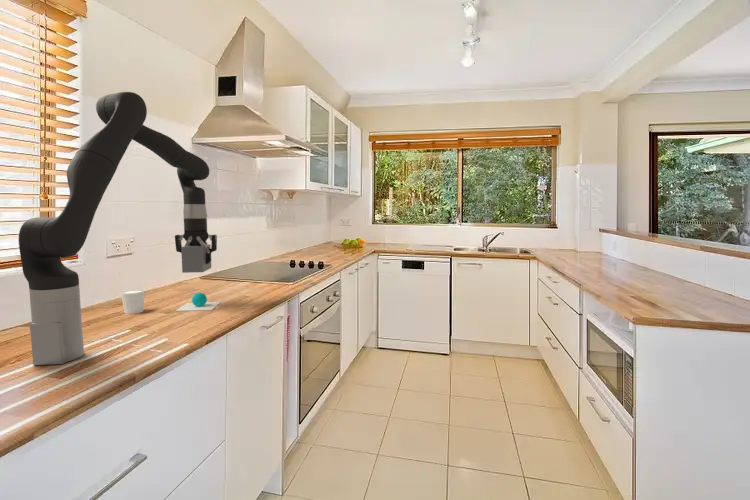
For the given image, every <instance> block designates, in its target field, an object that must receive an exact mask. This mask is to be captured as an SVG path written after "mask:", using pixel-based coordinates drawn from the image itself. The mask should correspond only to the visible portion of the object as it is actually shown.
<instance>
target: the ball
mask: <svg viewBox="0 0 750 500" xmlns="http://www.w3.org/2000/svg"><path fill="white" fill-rule="evenodd" d="M191 301H192V302H191V303H193V304H194V305H195V306H203V305H204V304H205V303H206V302H208V297H207V295H206V294H205V293H204V292H197V293H194V294H193V295H192V297H191Z"/></svg>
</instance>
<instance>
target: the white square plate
mask: <svg viewBox="0 0 750 500" xmlns="http://www.w3.org/2000/svg"><path fill="white" fill-rule="evenodd" d="M220 303H221V301H212V302H211V301H206V303H205V304H204V305H203V306H195V305H194V304H193V303H192V302H186V303H185V304H183V305H182V306H180V307H179V308H178V309H176V310H175V312H193V311H194V312H195V311H198V312H199V311H200V312H202V311H213V310H214V309H215V308H216V307H217V306H218V305H219V304H220Z"/></svg>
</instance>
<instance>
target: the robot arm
mask: <svg viewBox="0 0 750 500" xmlns="http://www.w3.org/2000/svg"><path fill="white" fill-rule="evenodd" d="M147 109H148V108H147V104H146V102H145V100H144V99H143V97H141V95H139V94H137V93H135V92H132V91H121V92H116V93H111V94H106V95H103V96H101V97H99V98H98V99H97V101H96V102H95V110H96V113H97V116H98V118H99V119H100V120H101V121H102V122H103V123H104V124H105V126H104V127H102V128H101V129H100V130H99V131H97V132H96V133H94V134H93V135H92V136H91V137H90V138H88V139H87V140H86V141H85V142H84V143H83V144H81V146H80V147H79V148H78V149H77V151H76V152H75V154H74V155H73V157H72V158H71V161H70V163H69V165H68V166H67V168H66V169H67V170H66V178H67V180H66V181H67V185H68V189H69V197H68V200H67V202H66V203H65V206H64V208H63V210H62V211H61V213H60V214H59V215H58V216H55V217H54V216H53V217H51V216H50V217H48V216H47V217H46V216H45V217H43V216H41V217H39V216H37V217H32V218H29V219H27V220H26V221H24V222H23V223H22V225H21V227H20V228H19V232H18V248H19V255H20V260H21V268H22V273H23V276H24V279H26V281H27V282H28V283H27V284H28V292H29V302H30V303H29V304H30V316H31V323H30V324H29V333H30V341H31V342H30V343H31V354H32V365H33V366H46V365H63V364H65V363H68V362H71V361H74V360H77V359H80V358H81V357H83V356H84V355H85V349H84V348H85V347H84V345H85V344H84V335H83V334H84V333H83V320H82V305H81V294H80V279H79V274H78V272H76V271H74V270H72V269H70V268H68V267H67V266H65V264H64V263H63V262H62V260H61V258H70V257H73V256H75V255H77V254H78V253H79V252H80V251H81V249H82V248H83V246H84V244H85V242H86V239H87V237H88V235H89V232H90V228H91V226H92V223H93V220H94V217H95V215H96V212H97V211H98V208H99V205H100V204H101V201H102V199H103V196H104V194H105V192H106V191H107V188H108V187H109V185H110V183H111V181H112V180H113V177H114V175H115V173H116V172H117V169H118V166H119V165H120V162H121V160H122V159H123V157H124V155H125V154H126V152H127V150H128V147H129V146H130V143H131V142H132V140H133V141H135V142H136V143H138V144H140V145H142V146H143V147H144V148H147V149H148V150H150V151H151V152H152V153H154V154H155V155H156V156H158V157H159V158H161V160H163V161H165V162H166V163H167V164H168V165H169V166H171V167H172V168H173V167H174V168H176V174H177V178H178V182H179V184H180V187H181V189H182V190H181V191H182V193H183V196H182V197H183V209H182V210H183V212H182V213H183V227H184V228H183V232H184V233H183V234H175V235H174V243H175V251H176V252H178V253H180V254H181V247H183V246H182V245H183V244H182V241H183V239H184V241H186V243H185V244H184V246H195V245H196V246H205V249H206V264H209V263H210V262H211V263H212V253H214V252H217V249H218V247H217V246H218V244H217V243H218V235H217V234H209V233H208V213H207V207H206V192H205V189H204V188H203V187H202V188H201V187H199V186H197V185H196V183H195V181H203V180H206V179H207V178H208V177H209V175H210V167H209V165H208V163H207V162H206V161H205V160H204V159H203V158H201V157H199V156H197V155H196V154H194V153H192V152H190V151H188V150H186V149H185V148H184V147H182V146H181V145H180V144H179V143H178V142H177V141H175V140H174V139H173V138H172V137H170V136H168V135H166V134H165V133H162V132H159V131H157V130H155V129H152V128H150V127H148V126H146V125H144V123H145V122H146V118H147V114H148V112H147V111H148V110H147ZM208 239H209V240H210V241H211V249H210V247H209V245H208V242H207V240H208Z"/></svg>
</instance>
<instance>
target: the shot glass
mask: <svg viewBox="0 0 750 500" xmlns="http://www.w3.org/2000/svg"><path fill="white" fill-rule="evenodd" d="M121 300H122V306H123V311H124V314H126V315H132V314H133V315H134V314H139V313H143V312H144V308H145V290H143V289H141V290H140V289H137V290H135V289H134V290H126V291H122V292H121Z"/></svg>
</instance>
